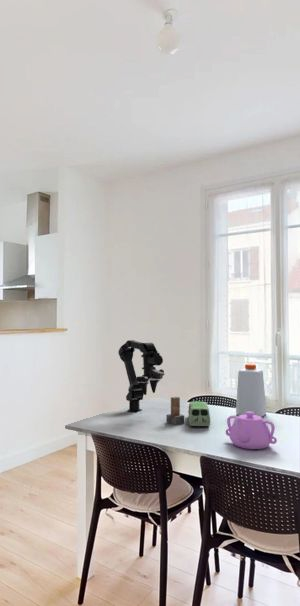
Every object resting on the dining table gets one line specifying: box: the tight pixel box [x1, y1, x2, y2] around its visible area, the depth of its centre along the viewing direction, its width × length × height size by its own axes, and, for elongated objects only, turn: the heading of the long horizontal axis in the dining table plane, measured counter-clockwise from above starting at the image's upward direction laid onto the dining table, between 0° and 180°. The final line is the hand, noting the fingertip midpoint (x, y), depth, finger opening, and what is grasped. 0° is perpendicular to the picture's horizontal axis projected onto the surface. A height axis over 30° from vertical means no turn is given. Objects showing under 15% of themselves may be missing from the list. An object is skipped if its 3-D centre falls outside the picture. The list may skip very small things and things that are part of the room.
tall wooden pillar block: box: [165, 396, 185, 426], centre depth 194 cm, size 7×6×13 cm
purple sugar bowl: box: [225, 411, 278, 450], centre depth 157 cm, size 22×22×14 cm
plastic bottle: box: [235, 363, 267, 418], centre depth 213 cm, size 15×15×28 cm
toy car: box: [188, 400, 211, 428], centre depth 195 cm, size 11×25×10 cm, turn 175°
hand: (149, 393), depth 208 cm, fingers open, 9 cm apart
